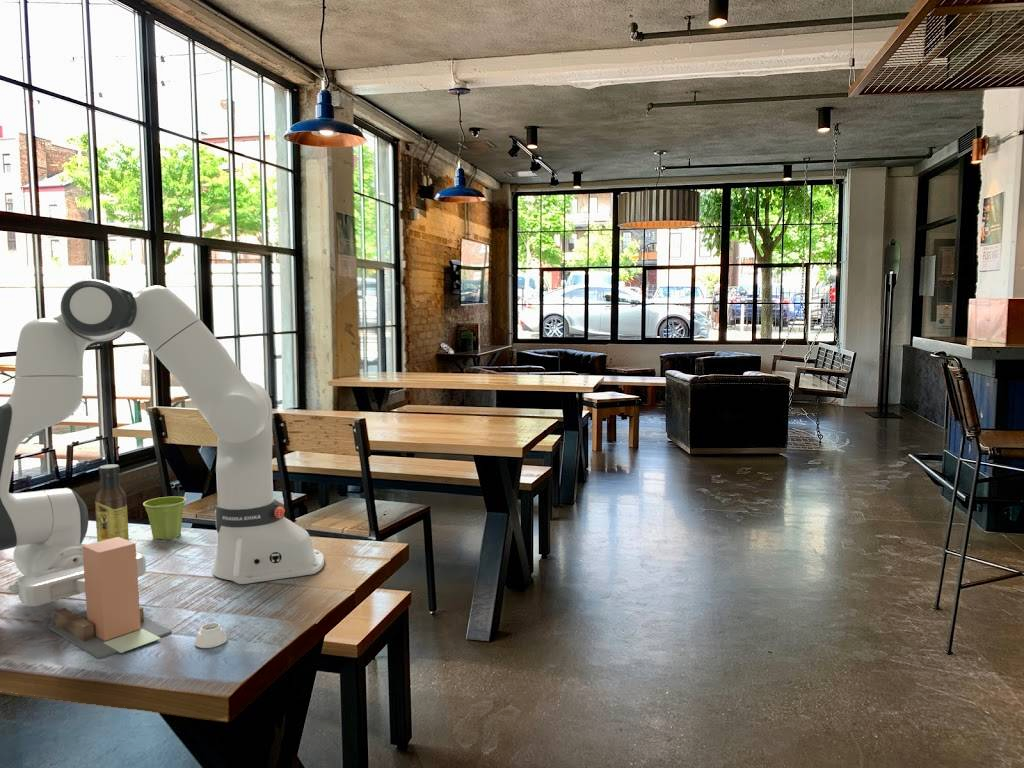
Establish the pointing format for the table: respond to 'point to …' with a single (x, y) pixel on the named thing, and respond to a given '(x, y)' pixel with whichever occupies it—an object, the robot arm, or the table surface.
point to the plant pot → (165, 516)
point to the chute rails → (79, 624)
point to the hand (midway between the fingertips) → (103, 586)
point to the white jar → (210, 636)
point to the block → (111, 587)
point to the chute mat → (116, 639)
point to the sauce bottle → (111, 505)
